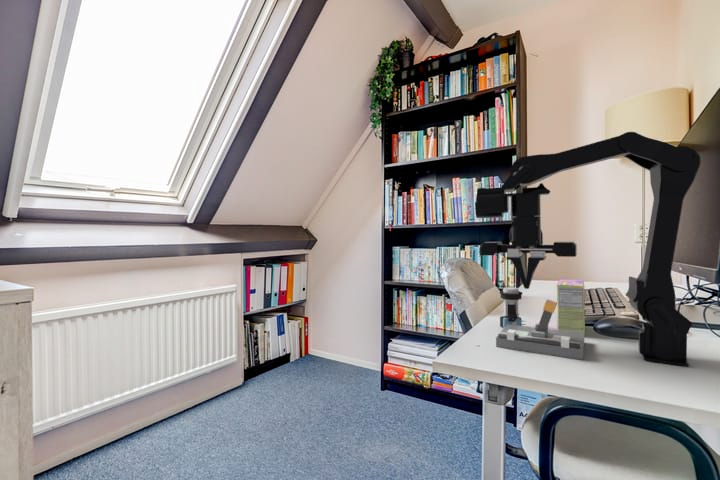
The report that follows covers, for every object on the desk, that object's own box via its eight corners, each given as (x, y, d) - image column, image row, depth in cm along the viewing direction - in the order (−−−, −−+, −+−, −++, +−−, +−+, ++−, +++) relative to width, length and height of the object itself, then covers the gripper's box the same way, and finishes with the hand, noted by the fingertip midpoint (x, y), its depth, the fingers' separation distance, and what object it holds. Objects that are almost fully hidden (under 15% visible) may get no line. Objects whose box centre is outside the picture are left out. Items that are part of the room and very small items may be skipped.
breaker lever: (546, 332, 80) (557, 302, 79) (544, 337, 77) (555, 306, 75) (536, 328, 81) (547, 299, 80) (534, 333, 78) (545, 302, 76)
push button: (519, 323, 97) (519, 286, 96) (531, 329, 91) (531, 289, 91) (496, 325, 96) (495, 287, 95) (506, 331, 90) (506, 290, 90)
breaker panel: (584, 342, 81) (584, 325, 80) (582, 360, 70) (582, 340, 70) (507, 332, 89) (507, 316, 89) (495, 347, 79) (495, 329, 79)
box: (558, 323, 96) (558, 278, 96) (584, 326, 93) (584, 280, 93) (556, 334, 87) (556, 284, 87) (584, 337, 84) (584, 286, 84)
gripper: (577, 215, 81) (578, 285, 82) (490, 218, 91) (491, 281, 92) (575, 214, 72) (575, 294, 72) (478, 218, 82) (479, 287, 82)
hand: (526, 288), depth 80 cm, fingers closed
